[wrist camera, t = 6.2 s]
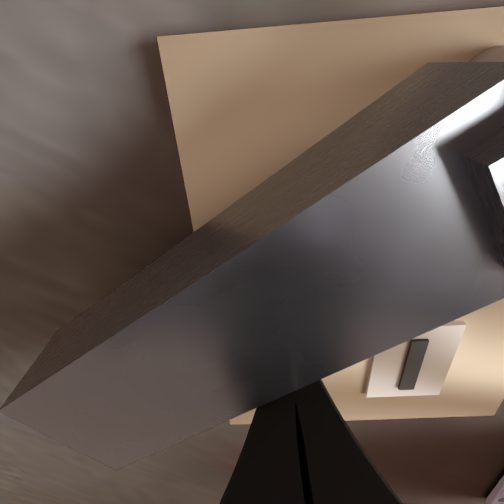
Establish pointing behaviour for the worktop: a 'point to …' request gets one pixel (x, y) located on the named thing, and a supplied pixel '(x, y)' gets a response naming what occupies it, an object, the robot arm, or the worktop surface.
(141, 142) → the worktop surface
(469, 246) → the swing bar
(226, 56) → the tan piece
